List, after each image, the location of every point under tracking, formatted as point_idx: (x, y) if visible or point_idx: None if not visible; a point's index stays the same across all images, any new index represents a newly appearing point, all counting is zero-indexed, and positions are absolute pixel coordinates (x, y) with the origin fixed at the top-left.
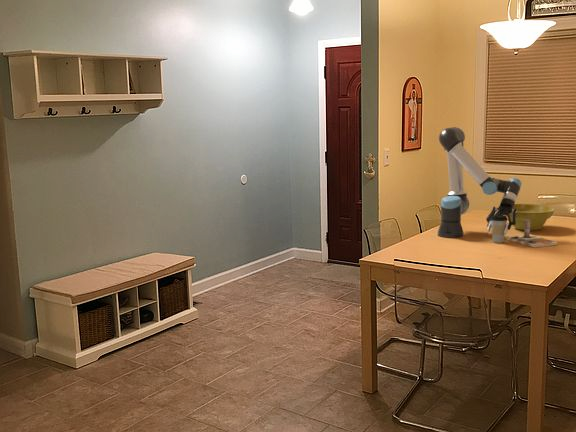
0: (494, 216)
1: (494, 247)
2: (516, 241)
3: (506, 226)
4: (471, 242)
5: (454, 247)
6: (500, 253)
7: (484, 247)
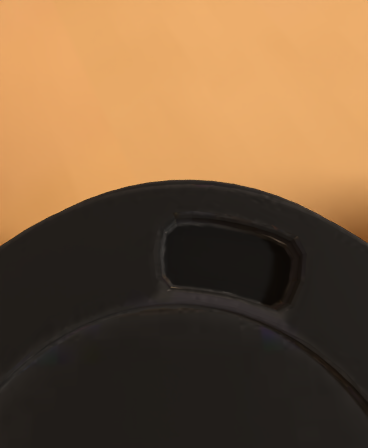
0: (302, 263)
1: (126, 140)
2: None
3: None
4: (343, 186)
5: (327, 10)
6: (35, 31)
7: (182, 104)
